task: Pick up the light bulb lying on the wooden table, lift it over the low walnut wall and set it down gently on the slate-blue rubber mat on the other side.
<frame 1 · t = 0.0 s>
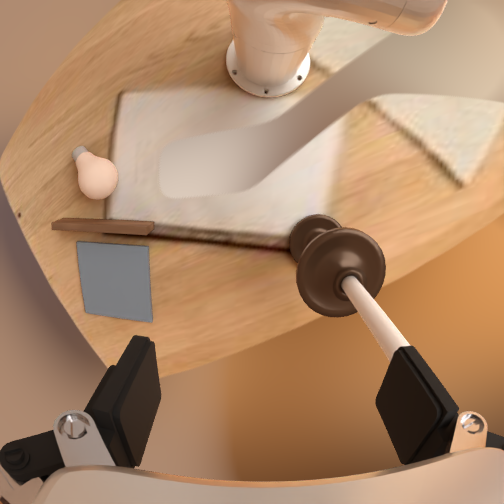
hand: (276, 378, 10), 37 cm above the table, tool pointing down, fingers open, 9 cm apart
mat: (114, 281, 49), on the table
light bulb: (99, 168, 43), on the table
low wall: (105, 222, 46), on the table
candlestick: (317, 242, 47), on the table
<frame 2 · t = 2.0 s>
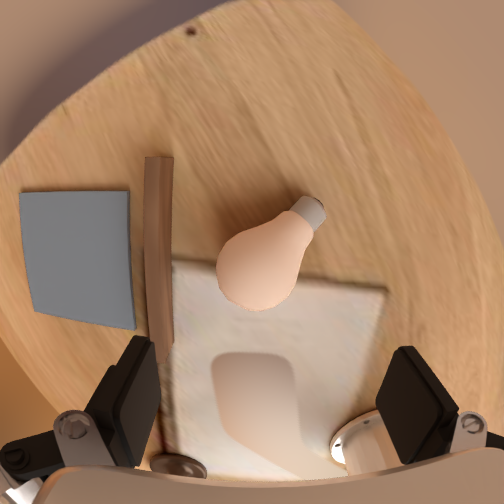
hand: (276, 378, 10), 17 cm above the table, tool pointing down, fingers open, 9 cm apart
mat: (72, 258, 27), on the table
light bulb: (273, 242, 27), on the table
low wall: (165, 257, 27), on the table
candlestick: (178, 467, 37), on the table
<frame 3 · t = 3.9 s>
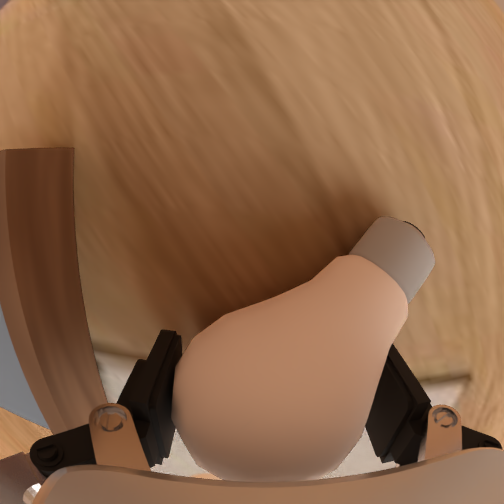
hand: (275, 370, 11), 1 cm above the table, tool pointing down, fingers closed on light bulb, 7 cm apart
light bulb: (304, 314, 12), on the table, touching gripper
low wall: (82, 345, 12), on the table
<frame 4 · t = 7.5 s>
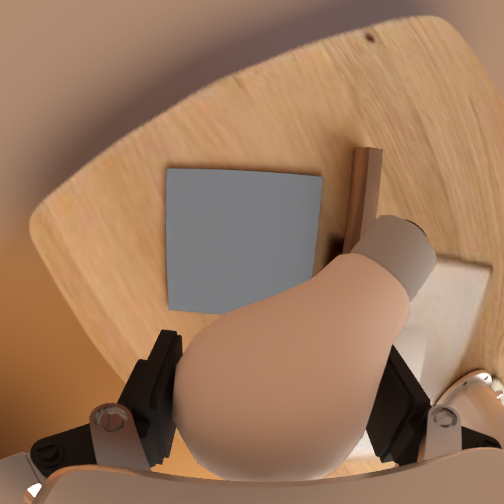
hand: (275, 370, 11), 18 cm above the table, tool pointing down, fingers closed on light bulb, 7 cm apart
mat: (240, 245, 28), on the table
light bulb: (305, 313, 12), point 17 cm above the table, touching gripper
low wall: (349, 242, 28), on the table
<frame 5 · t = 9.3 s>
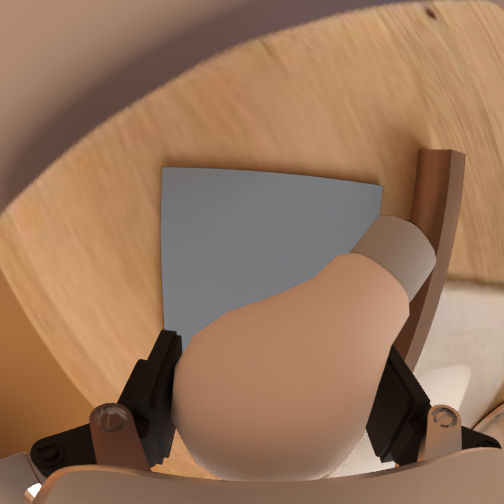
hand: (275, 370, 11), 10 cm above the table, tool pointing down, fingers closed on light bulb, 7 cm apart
mat: (266, 278, 20), on the table
light bulb: (305, 313, 12), point 8 cm above the table, touching gripper
low wall: (407, 272, 20), on the table
when the fingers open (3 cm above the table, at t = 11.1 s): light bulb drops 1 cm, resting on mat.
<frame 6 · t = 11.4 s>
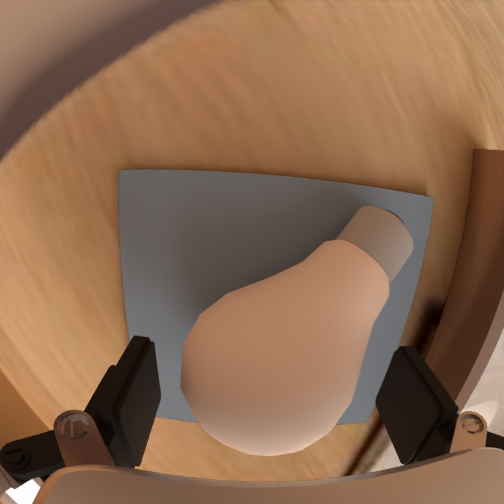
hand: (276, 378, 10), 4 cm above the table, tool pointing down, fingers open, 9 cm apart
mat: (270, 325, 14), on the table
light bulb: (299, 297, 13), resting on mat
low wall: (451, 309, 14), on the table
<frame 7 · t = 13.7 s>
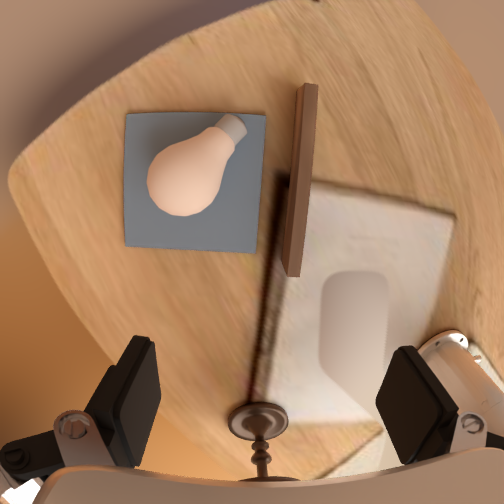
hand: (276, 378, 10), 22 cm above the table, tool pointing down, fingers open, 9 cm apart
mat: (190, 181, 29), on the table
light bulb: (204, 161, 28), resting on mat
low wall: (295, 178, 29), on the table
candlestick: (258, 419, 41), on the table
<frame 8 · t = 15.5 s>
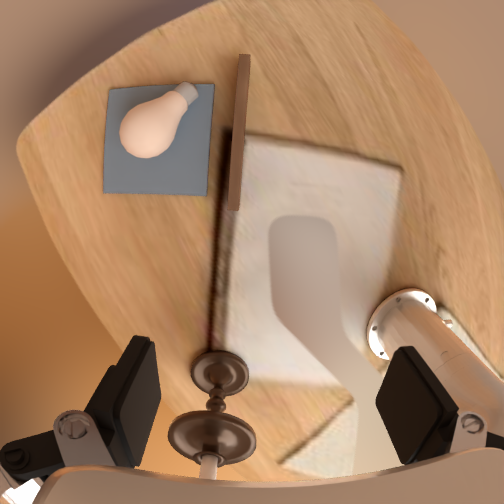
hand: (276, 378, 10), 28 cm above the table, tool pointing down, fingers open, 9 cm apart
mat: (155, 138, 34), on the table
light bulb: (167, 120, 33), resting on mat
low wall: (239, 132, 34), on the table
candlestick: (220, 372, 45), on the table
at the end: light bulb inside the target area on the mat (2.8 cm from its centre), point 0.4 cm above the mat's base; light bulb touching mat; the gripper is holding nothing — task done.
